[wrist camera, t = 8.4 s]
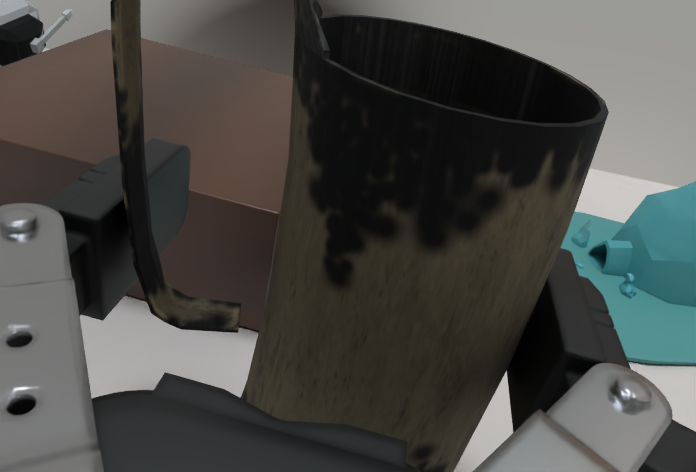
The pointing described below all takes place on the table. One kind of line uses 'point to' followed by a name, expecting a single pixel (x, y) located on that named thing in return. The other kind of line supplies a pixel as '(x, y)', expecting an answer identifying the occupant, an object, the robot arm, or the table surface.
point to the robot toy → (23, 30)
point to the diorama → (645, 274)
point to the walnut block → (168, 124)
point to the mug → (391, 222)
